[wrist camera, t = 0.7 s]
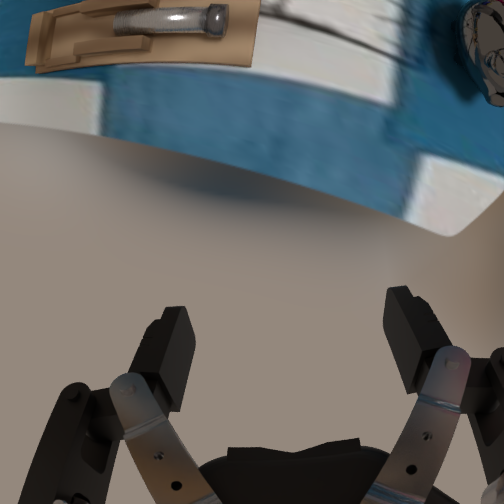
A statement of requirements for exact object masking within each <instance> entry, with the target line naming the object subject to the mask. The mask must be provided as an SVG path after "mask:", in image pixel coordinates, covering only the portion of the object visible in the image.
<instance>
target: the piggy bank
mask: <svg viewBox="0 0 504 504" xmlns="http://www.w3.org/2000/svg"><path fill="white" fill-rule="evenodd" d="M451 28H452V30H453V31H454V32H455V33H456V43H457V48H458V51H457V52H456V53H455V54H454V61H455V62H456V64H457V65H460V66H464V68H465V70H466V72H467V73H468V75H469V77H470V78H471V79H472V81H473V82H474V83H475V85H476V86H477V87H478V88H479V90H480V91H481V92H482V94H483V95H484V97H485V99H486V101H487V103H488V104H490V105H493V106H495V107H500V108H502V107H504V0H470V1H468V2H467V3H466V4H465V5H464V6H463V7H462V8H461V10H460V11H459V13H458V16H457V19H456V20H454V21H452V22H451Z"/></svg>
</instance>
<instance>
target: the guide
mask: <svg viewBox="0 0 504 504" xmlns="http://www.w3.org/2000/svg"><path fill="white" fill-rule="evenodd" d="M211 3H216V4H228V5H229V22H228V29H227V33H226V36H225V37H224V38H223V37H208V36H207V34H206V33H150V34H134V35H122V36H117V35H116V34H115V33H114V29H113V21H114V17H115V15H116V13H117V12H119V11H126V10H135V9H146V8H161V7H209V6H210V4H211ZM260 4H261V0H86V1H82V2H81V3H77V4H73V5H69V6H65V7H61V8H57V9H53V10H50V11H46V12H45V11H44V12H40V13H37V14H34V15H32V20H31V26H30V31H29V38H28V44H27V51H26V60H25V66H36V73H47V72H53V71H59V70H66V69H73V68H81V67H90V66H100V65H112V64H128V63H204V64H220V65H233V66H243V67H251V64H252V57H253V50H254V43H255V37H256V30H257V23H258V17H259V10H260Z"/></svg>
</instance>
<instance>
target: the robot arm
mask: <svg viewBox="0 0 504 504" xmlns="http://www.w3.org/2000/svg"><path fill="white" fill-rule="evenodd" d="M383 328H384V332H385V335H386V338H387V340H388V343H389V345H390V348H391V350H392V353H393V356H394V359H395V361H396V364H397V367H398V369H399V372H400V375H401V378H402V381H403V383H404V386H405V389H406V392H407V394H411V393H416V392H417V394H418V399H417V401H416V404H415V406H414V408H413V410H412V412H411V415H410V417H409V419H408V421H407V423H406V425H405V427H404V429H403V431H402V433H401V435H400V437H399V439H398V441H397V443H396V445H395V446H394V448H393V450H392V452H391V454H389V453H387V452H385V451H382V450H380V449H377V448H373V447H368V446H361V445H360V440H359V438H354V439H348V440H341V441H334V442H327V443H324V444H321V445H318V446H315V447H312V448H308V449H306V450H302V451H299V452H295V453H291V452H284V451H278V450H272V449H267V448H261V447H250V448H249V447H246V448H245V447H239V448H238V447H234V448H233V447H228V451H227V456H223V457H220V458H217V459H214V460H211V461H209V462H207V463H205V464H204V465H202V466H200V467H198V465H197V464H196V463H195V461H194V460H193V458H192V457H191V455H190V454H189V452H188V451H187V449H186V448H185V446H184V444H183V443H182V441H181V440H180V438H179V437H178V435H177V433H176V432H175V430H174V428H173V427H172V425H171V424H170V422H169V420H168V416H169V413H170V412H171V411H172V412H180V408H181V404H182V400H183V395H184V392H185V388H186V383H187V379H188V375H189V371H190V367H191V363H192V359H193V355H194V351H195V345H196V341H195V334H194V331H193V328H192V325H191V322H190V319H189V316H188V312H187V310H186V308H185V306H175V307H166V308H165V310H164V312H163V314H162V317H161V319H157V320H154V321H153V322H152V323H151V324H150V325H149V326H148V327H147V329H146V331H145V334H144V336H143V339H142V340H141V343H140V347H138V349H137V352H136V354H135V356H134V359H133V361H132V364H131V366H130V368H129V371H128V373H125V374H122V375H120V376H119V377H117V378H116V379H115V380H114V381H113V382H112V384H111V386H110V387H109V388H105V389H100V390H94V391H91V390H90V389H89V387H88V386H87V385H86V384H84V383H81V382H76V383H72V384H70V385H68V386H67V387H65V388H64V389H63V390H62V392H61V393H60V396H59V398H58V400H57V402H56V404H55V407H54V409H53V411H52V413H51V416H50V418H49V420H48V423H47V425H46V428H45V430H44V432H43V435H42V438H41V440H40V442H39V445H38V447H37V450H36V453H35V455H34V458H33V461H32V463H31V466H30V469H29V472H28V475H27V477H26V481H25V483H24V486H23V489H22V492H21V496H20V499H19V502H18V504H105V501H106V496H107V492H108V488H109V483H110V479H111V475H112V471H113V467H114V462H115V458H116V455H117V451H118V447H119V443H120V440H123V439H124V440H125V442H126V445H127V447H128V449H129V451H130V454H131V456H132V458H133V460H134V462H135V464H136V466H137V468H138V470H139V472H140V474H141V476H142V478H143V480H144V482H145V484H146V486H147V488H148V490H149V492H150V494H151V495H152V497H153V499H154V501H155V503H156V504H459V503H458V502H457V501H455V500H454V499H452V498H451V497H449V496H448V495H446V494H445V493H443V492H442V491H441V490H439V489H438V488H436V487H435V486H433V484H434V481H435V479H436V477H437V475H438V473H439V470H440V468H441V466H442V463H443V461H444V458H445V456H446V453H447V451H448V448H449V446H450V443H451V440H452V438H453V434H454V432H455V429H456V426H457V423H458V420H459V417H460V414H467V415H468V418H469V421H470V424H471V427H472V430H473V434H474V437H475V440H476V443H477V446H478V450H479V453H480V457H481V461H482V464H483V468H484V472H485V476H486V480H487V484H488V486H487V488H486V489H485V490H484V492H483V494H482V497H481V504H504V347H501V348H498V349H496V350H494V351H493V353H492V354H491V357H490V358H470V356H469V354H468V353H467V352H466V351H465V350H464V349H462V348H460V347H457V346H453V345H452V343H451V341H450V340H449V338H448V336H447V334H446V332H445V331H444V329H443V327H442V326H441V324H440V322H439V321H438V319H437V317H436V315H435V314H434V313H433V310H432V309H431V307H430V306H429V304H428V303H427V302H426V301H425V300H423V299H422V298H421V297H419V296H417V297H413V295H412V294H411V292H410V290H409V289H408V287H407V286H398V287H390V288H388V289H387V293H386V300H385V308H384V316H383Z"/></svg>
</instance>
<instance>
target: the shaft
mask: <svg viewBox="0 0 504 504" xmlns="http://www.w3.org/2000/svg"><path fill="white" fill-rule="evenodd" d="M228 22H229V5H228V4H216V3H211V4H210V6H209V7H161V8H146V9H135V10H126V11H119V12H117V13H116V15H115V17H114V21H113V29H114V33H115V34H116V35H117V36H122V35H134V34H150V33H206V34H207V36H208V37H223V38H224V37H225V36H226V33H227V29H228Z"/></svg>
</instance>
